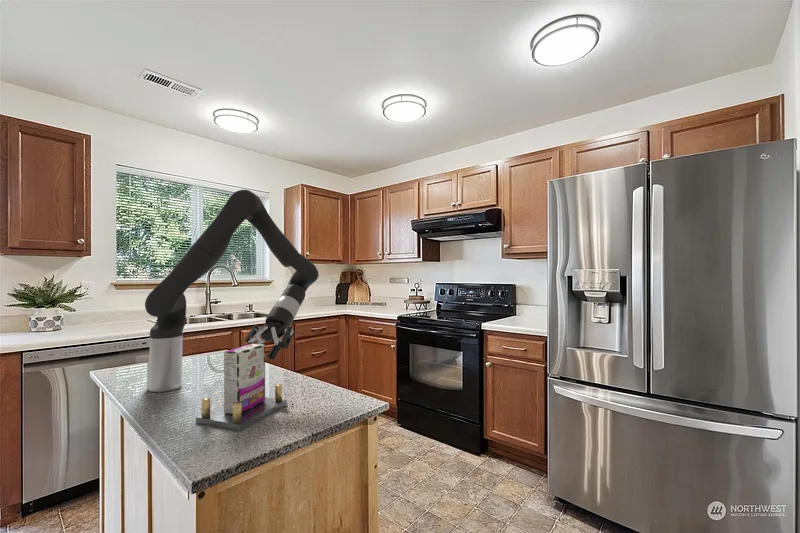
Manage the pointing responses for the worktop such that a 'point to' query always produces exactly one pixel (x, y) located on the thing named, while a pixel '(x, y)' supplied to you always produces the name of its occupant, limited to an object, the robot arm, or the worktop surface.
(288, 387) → the worktop surface
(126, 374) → the worktop surface
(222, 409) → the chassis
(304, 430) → the worktop surface
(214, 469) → the worktop surface
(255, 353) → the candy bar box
